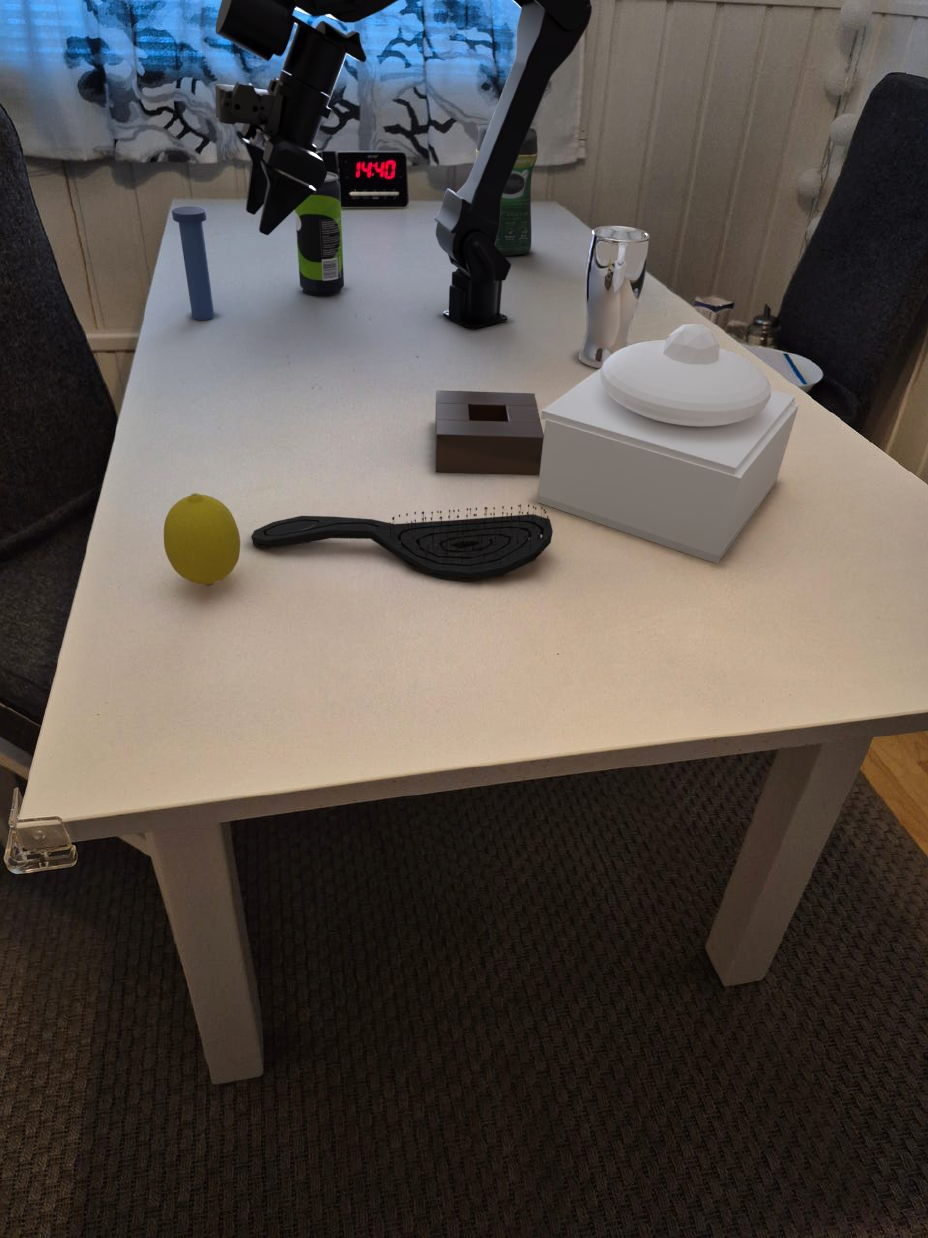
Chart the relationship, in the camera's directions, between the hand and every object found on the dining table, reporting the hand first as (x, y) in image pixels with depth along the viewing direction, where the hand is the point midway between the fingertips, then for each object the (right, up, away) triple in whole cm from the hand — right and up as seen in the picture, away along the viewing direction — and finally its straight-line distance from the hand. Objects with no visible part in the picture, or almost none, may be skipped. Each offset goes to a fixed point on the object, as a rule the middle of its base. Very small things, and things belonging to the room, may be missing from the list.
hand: (256, 222), depth 103 cm
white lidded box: (+43, -34, -19) cm, 58 cm away
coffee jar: (+30, +15, +43) cm, 55 cm away
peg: (-10, -7, +13) cm, 17 cm away
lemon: (+4, -44, -34) cm, 56 cm away
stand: (+27, -29, -14) cm, 42 cm away
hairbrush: (+19, -41, -29) cm, 54 cm away
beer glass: (+42, -14, +7) cm, 45 cm away
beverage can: (+4, +1, +23) cm, 24 cm away
